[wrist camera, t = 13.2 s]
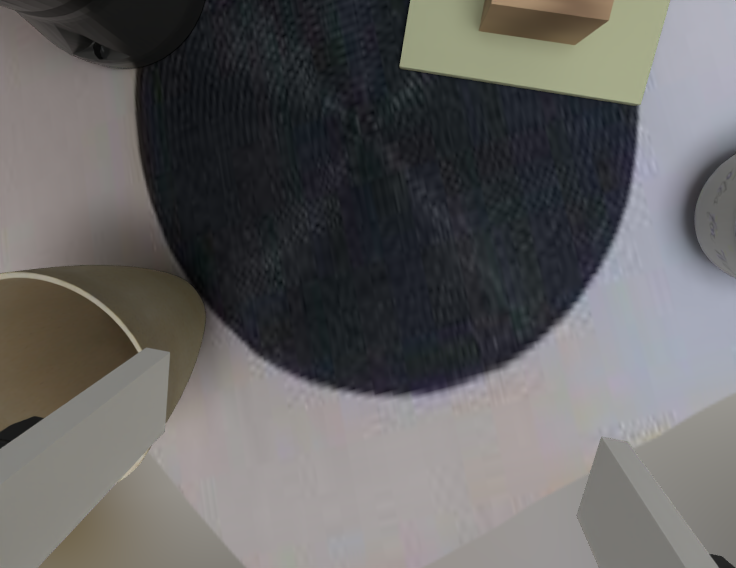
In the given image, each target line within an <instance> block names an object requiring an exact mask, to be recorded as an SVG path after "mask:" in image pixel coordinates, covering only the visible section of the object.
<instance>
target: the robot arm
mask: <svg viewBox="0 0 736 568" xmlns="http://www.w3.org/2000/svg"><path fill="white" fill-rule="evenodd" d="M204 2H205V0H0V5H1V6H4V7H7V8H10V9H12V10H15V11H17V12H18V13H19V14H20V15H21V16H22V17H23V18H25V19H26V20H27V21H28V22H29V23H30V24H31V25H32V26H34V27H35V28H36V29H37V30H38V31H39V32H40V33H42V34H43V35H44V36H45V37H46V38H47V39H48V40H50V41H51V42H52V43H53V44H55V45H56V46H58V47H59V48H61V49H62V50H64V51H66V52H68V53H69V54H71V55H73V56H75V57H78V58H80V59H83V60H86V61H89V62H93V63H96V64H99V65H103V66H107V67H112V68H123V69H126V68H137V67H142V66H146V65H149V64H152V63H154V62H157V61H159V60H161V59H163V58H164V57H166V56H167V55H169V54H170V53H172V52H173V51H174V50H175V49H176V48H178V47H179V46H180V45H181V44H182V43H183V41H184V40H185V39H186V38H187V37H188V35H189V34H190V32H191V31H192V29H193V28H194V26H195V24H196V22H197V20H198V18H199V16H200V14H201V11H202V8H203V5H204ZM169 362H170V352H167V351H162V350H157V349H152V348H145V349H143V350H142V351H140V352H139V353H138V354H136V355H135V356H133V357H132V358H130V359H129V360H128V361H126V362H125V363H123V364H122V365H120V366H119V367H117V368H116V369H115V370H113V371H112V372H110V373H109V374H107V375H106V376H104V377H103V378H102V379H100V380H99V381H97V382H96V383H94V384H93V385H92V386H90V387H89V388H87V389H86V390H84V391H83V392H81V393H80V394H79V395H77V396H76V397H74V398H73V399H71V400H70V401H68V402H67V403H66V404H64V405H63V406H61V407H60V408H58V409H57V410H56V411H54V412H53V413H51V414H50V415H48V416H47V417H45V418H42V417H37V416H33V417H30V418H28V419H25V420H22V421H20V422H17V423H14V424H12V425H10V426H8V427H7V428H5V429H4V430H2V431H1V432H0V568H38V567H39V566H40V564H41V563H42V562H43V561H44V560H45V559H46V558H47V557H48V556H49V555H50V554H51V553H52V552H53V551H54V549H55V548H56V547H57V546H58V545H59V544H60V543H61V542H62V541H63V540H64V539H65V538H66V536H67V535H68V534H69V533H70V532H71V531H72V530H73V529H74V528H75V527H76V526H77V525H78V524H79V523H80V522H81V520H82V519H83V518H84V517H85V516H86V515H87V514H88V513H89V512H90V511H91V510H92V509H93V508H94V507H95V506H96V504H97V503H98V502H99V501H100V500H101V499H102V498H103V497H104V496H105V495H106V494H107V493H108V491H110V489H111V488H112V487H113V486H114V485H115V484H116V483H117V482H118V481H119V480H120V479H121V478H122V477H123V476H124V474H125V473H126V472H127V471H128V470H129V469H130V468H131V467H132V466H133V465H134V464H135V463H136V462H137V461H138V459H139V458H140V457H141V456H142V455H143V454H144V453H145V452H146V451H147V450H148V449H149V448H150V447H151V446H152V444H153V443H154V442H155V441H156V440H157V439H158V438H159V437H160V436H161V435H162V434H163V433H164V432H165V422H166V407H167V392H168V377H169ZM577 518H578V520H579V523H580V525H581V527H582V530H583V532H584V534H585V537H586V539H587V541H588V544H589V546H590V548H591V551H592V553H593V555H594V557H595V560H596V562H597V564H598V567H599V568H735V567H734V566H733V565H731V564H730V563H729V562H728V561H727V560H725V559H724V558H723V557H722V556H717V555H713V554H709V553H708V552H707V550H706V549H705V548H704V546H703V545H702V544H701V542H700V541H699V539H698V538H697V537H696V535H695V534H694V532H693V531H692V530H691V528H690V527H689V526H688V524H687V523H686V521H685V520H684V519H683V517H682V516H681V514H680V513H679V512H678V510H677V509H676V508H675V506H674V505H673V503H672V502H671V501H670V499H669V498H668V497H667V495H666V494H665V492H664V491H663V490H662V488H661V487H660V485H659V484H658V483H657V481H656V480H655V479H654V477H653V476H652V475H651V473H650V472H649V470H648V469H647V468H646V466H645V465H644V464H643V462H642V461H641V459H640V458H639V456H638V455H637V454H636V452H635V451H634V449H633V448H632V447H631V445H630V444H629V443H628V442H627V441H621V440H616V439H611V438H606V437H601V439H600V443H599V446H598V449H597V452H596V455H595V458H594V462H593V465H592V468H591V471H590V474H589V478H588V481H587V484H586V487H585V490H584V494H583V497H582V500H581V503H580V506H579V509H578V513H577Z"/></svg>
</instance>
